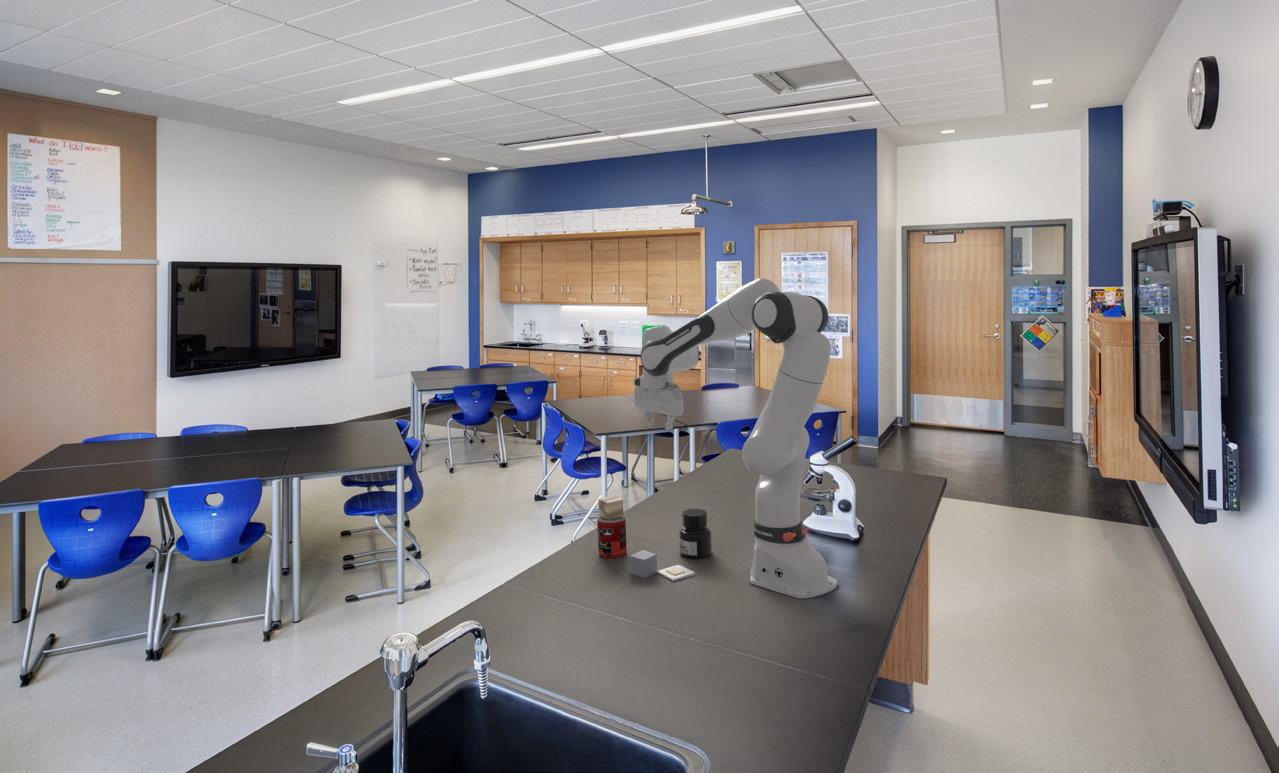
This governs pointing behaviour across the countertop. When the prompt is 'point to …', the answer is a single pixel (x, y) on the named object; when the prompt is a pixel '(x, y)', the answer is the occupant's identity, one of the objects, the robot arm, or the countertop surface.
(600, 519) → the canned food
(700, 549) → the ink bottle
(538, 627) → the countertop surface
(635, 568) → the slate block
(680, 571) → the tile
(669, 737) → the countertop surface
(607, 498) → the maple block
